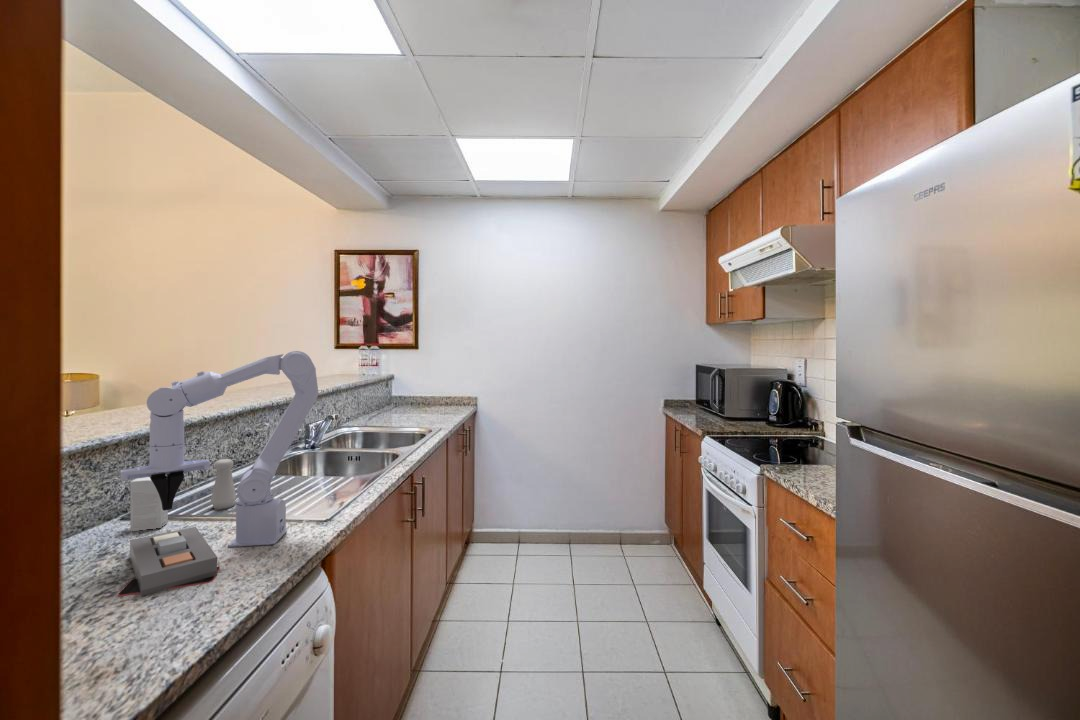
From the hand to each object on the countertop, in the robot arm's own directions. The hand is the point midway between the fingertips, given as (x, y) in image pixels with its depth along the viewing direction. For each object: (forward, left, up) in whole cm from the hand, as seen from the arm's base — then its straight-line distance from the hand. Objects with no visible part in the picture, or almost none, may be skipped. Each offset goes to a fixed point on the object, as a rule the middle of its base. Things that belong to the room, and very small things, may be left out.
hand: (167, 508), depth 98 cm
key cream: (0, +1, -8) cm, 8 cm away
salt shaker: (+3, -31, -10) cm, 33 cm away
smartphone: (-8, +14, -10) cm, 19 cm away
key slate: (-5, +7, -7) cm, 11 cm away
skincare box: (+13, -17, -10) cm, 23 cm away
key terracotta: (-9, +12, -8) cm, 17 cm away
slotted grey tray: (-5, +7, -9) cm, 12 cm away
